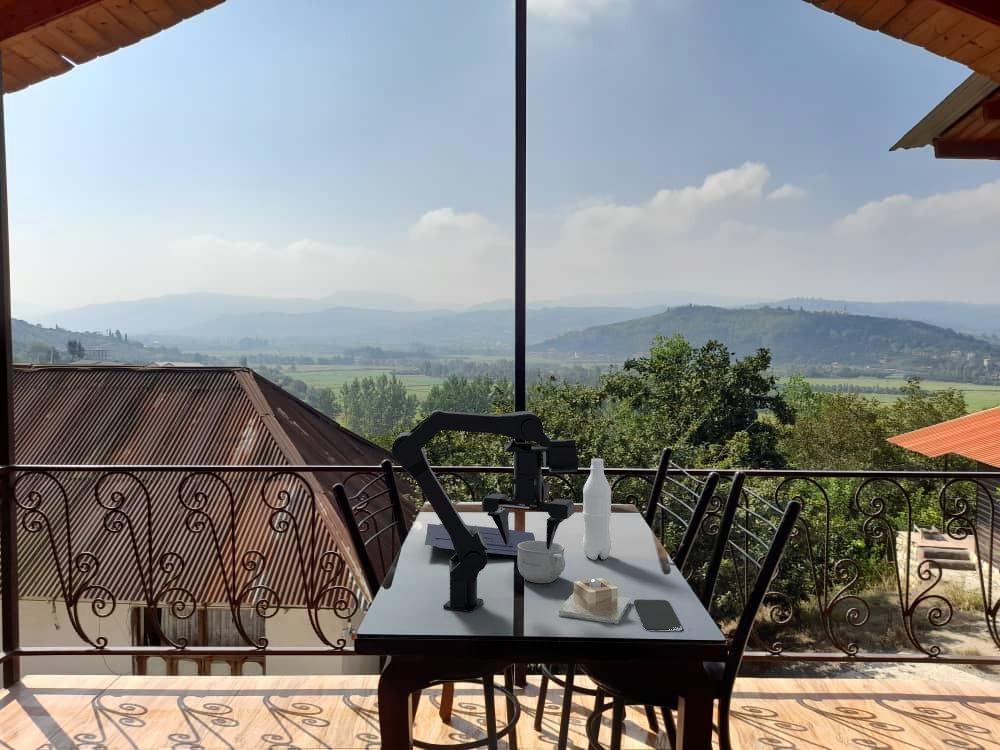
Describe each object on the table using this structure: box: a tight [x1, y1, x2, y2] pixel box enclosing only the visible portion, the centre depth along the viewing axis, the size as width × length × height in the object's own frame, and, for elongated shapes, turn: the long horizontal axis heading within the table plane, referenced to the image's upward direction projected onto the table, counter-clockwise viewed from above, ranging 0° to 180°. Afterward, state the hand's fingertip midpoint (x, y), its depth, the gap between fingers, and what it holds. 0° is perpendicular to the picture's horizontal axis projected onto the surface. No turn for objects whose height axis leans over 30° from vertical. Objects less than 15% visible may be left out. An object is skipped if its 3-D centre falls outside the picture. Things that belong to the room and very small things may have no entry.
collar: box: [573, 577, 619, 612], centre depth 144 cm, size 6×6×4 cm
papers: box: [424, 523, 536, 557], centre depth 187 cm, size 24×30×4 cm
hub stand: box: [558, 578, 631, 625], centre depth 144 cm, size 12×12×6 cm
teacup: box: [517, 540, 566, 584], centre depth 160 cm, size 14×11×8 cm
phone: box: [633, 598, 682, 631], centre depth 140 cm, size 7×1×15 cm
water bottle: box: [582, 457, 612, 561], centre depth 178 cm, size 7×7×25 cm
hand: (527, 546), depth 147 cm, fingers open, 9 cm apart
